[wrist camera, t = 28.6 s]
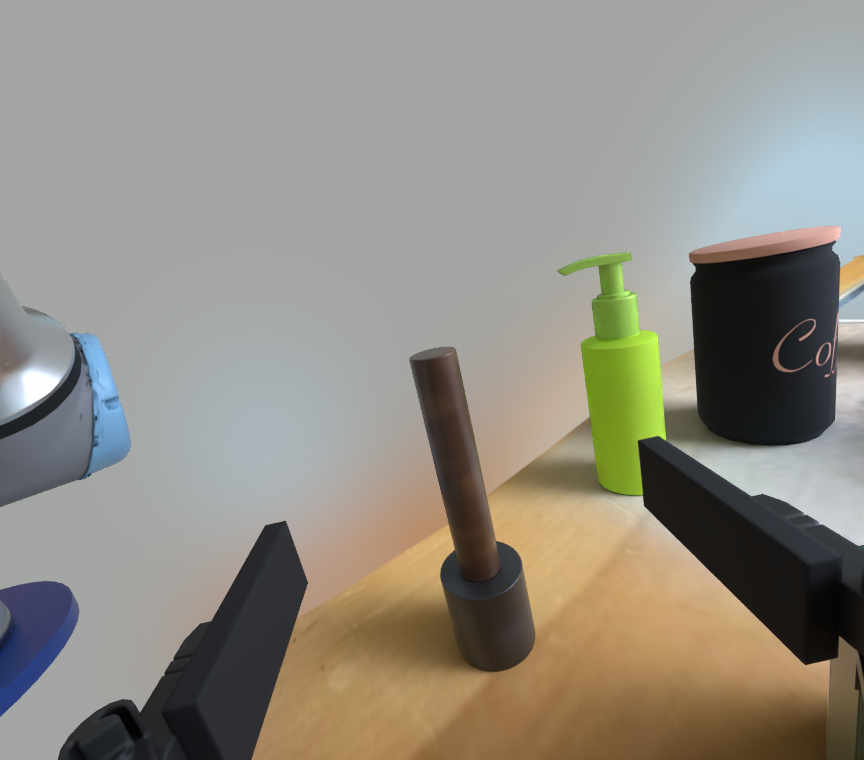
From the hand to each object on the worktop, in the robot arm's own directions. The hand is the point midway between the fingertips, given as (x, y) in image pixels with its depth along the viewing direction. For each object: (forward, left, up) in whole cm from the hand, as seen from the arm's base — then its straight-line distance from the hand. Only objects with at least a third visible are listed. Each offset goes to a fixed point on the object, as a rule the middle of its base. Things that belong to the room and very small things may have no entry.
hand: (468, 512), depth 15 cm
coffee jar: (+31, +24, -14) cm, 42 cm away
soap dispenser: (+15, +20, -14) cm, 29 cm away
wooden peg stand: (0, +7, -13) cm, 15 cm away
